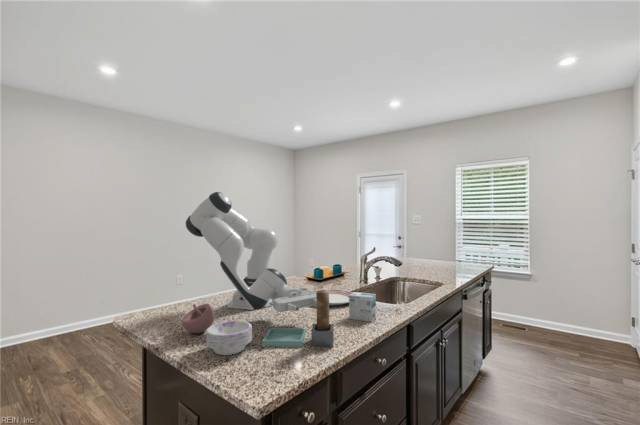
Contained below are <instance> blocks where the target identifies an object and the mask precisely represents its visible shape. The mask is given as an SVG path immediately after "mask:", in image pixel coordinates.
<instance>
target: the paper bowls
mask: <svg viewBox="0 0 640 425" xmlns="http://www.w3.org/2000/svg"><path fill="white" fill-rule="evenodd" d="M205 336H206V337H205V338H206V339H205V341H206V342H205V343H206V344H205V345H206V347H207V348H210V349H212V351H213V352H214V354H217V355H219V356H232V354H233V355H236V354H239V353H241V352H243V351H244V350H245V348H246V346H247V345H249V343H251V342H252V339H253V326H252V323H250V322H248V321H245V320H227V321H221V322H218V323H213V324H212V325H211V326H210V327H209V328H208V329H207V330H206V331H205Z"/></svg>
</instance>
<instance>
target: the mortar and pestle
mask: <svg viewBox="0 0 640 425" xmlns="http://www.w3.org/2000/svg"><path fill="white" fill-rule="evenodd" d="M192 307H193V309H191V310H190V311H189V312H187V314H185V315H184V316H183V318H182V321H181V323H182V326H183V327H184V329H185V330H186V331H187V332H189V333H192V334H201V333H205V332H206V330H207V329H208V328H209V327H210V326H212V325H213V324H214V320H215V310H214V309H213V307H212V305H210V304H209V303H203V304H200V305H196V304H192Z"/></svg>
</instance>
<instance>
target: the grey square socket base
mask: <svg viewBox="0 0 640 425" xmlns="http://www.w3.org/2000/svg"><path fill="white" fill-rule="evenodd" d="M334 331H335V330H334V323H329V330H317V322H315V323H314V322H313V324H312V327H311V334H310V335H311V339H310V340H311V347H312V348H334V337H335V334H334V333H335V332H334Z"/></svg>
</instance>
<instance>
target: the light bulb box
mask: <svg viewBox="0 0 640 425" xmlns="http://www.w3.org/2000/svg"><path fill="white" fill-rule="evenodd" d="M376 294H377V293H368V292H367V293H366V292H358V291H353V292H352V293H351V294H350V295H349V303H348V312H349V313H348V318H349V320H355V321H364V322H371V323H372V322H373V321H374V320H375V319H376V318H377V304H376V303H377V297H376Z"/></svg>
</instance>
